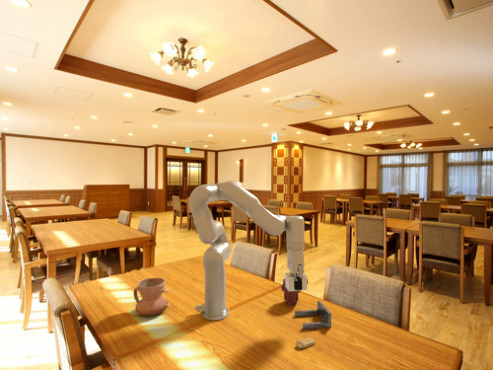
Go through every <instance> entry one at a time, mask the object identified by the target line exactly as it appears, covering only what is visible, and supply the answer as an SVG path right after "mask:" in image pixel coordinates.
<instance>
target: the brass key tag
mask: <svg viewBox="0 0 493 370" xmlns="http://www.w3.org/2000/svg"><path fill="white" fill-rule="evenodd" d="M314 345H316V341H315V340H314V339H312V338H311V337H310V336H308V337H306V338H303V339H300V340H297V341H296V342H295V346H296V349H298V350H304V349H307V348H309V347H312V346H314Z"/></svg>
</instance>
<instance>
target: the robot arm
mask: <svg viewBox="0 0 493 370" xmlns="http://www.w3.org/2000/svg"><path fill="white" fill-rule="evenodd" d="M225 200H227V201H229V202H230V203H231V204H233V205H234V206H235V207H237V208H238V209H239V210H241V211H242V212H243V213H244V214H246V215H247V217H248V218H250V220H252V222H253V223H254V224H256V225H257V226H258V227H259V228H261V229H262V230H263V231H265V232H266V233H268V234H269V235H271V236H280V235H282V234H283V233H284V232H285V233H286V249H287V250H286V251H287V252H286V253H287V254H286V268H287V269H288V271H289V273H292V274H295V281H294V283H295V290H301V291H303V290H302V278H303V273H305V258H304V257H305V256H304V250H305V246H306V245H305V243H306V242H305V218H304V217H303V216H301V215H283V214H275V215H274V214H273V213H272V212H270V211H269V210H267V209H266V208H265V207H264V206H263V204H262V203H261V202H260V200H259V198H258V197H257V196H255V195H254V194H252V193H251V192H250V191H248V190H247V189H246V188H244V186H243V184H242V182H240V181H238V180H227V181H224V182H218V183H210V184H208V183H207V184H206V183H205V184H201V185H198V186H197V187H195V188H194V189H193V190H192V192H191V193H190V194H189V198H188V206H189V210H190V212H191V215H192V218H193V222H194V225H195V229H196V231H197V236H198V238H199V240H200V242H201V243H203V244H205V245H210V246H209V247H208V248H206V250H205V252H204V253H203V257H202V262H203V268H204V271H203V272H204V303H203V304H200V305H199V304H197V305H196V304H195V305H194V310H195V311H197V312H198V313H199V312H200V313H201V316H202V318H204V319H205V320H207V321H208V320H209V321H220V320H224V319H225V318H227V317H228V316H229V314H230V309H229V307H227V306H226V305H227V304H226V303H227V302H226V300H227V299H226V298H227V296H226V291H227V290H226V285H227V284H226V281H227V280H226V276H227V275H226V269H225V262H226V261H227V260H228V259H229V258H230V255H231V251H232V250H231V243H230V242H229V237H228V235H227V232H226V229H225V227H224V225H223V223H221V222H220V221H219V220H216V219H215V220H214V218H213V214H212V211H211V209H210V208H209V206H208V205H209V203H212V202H217V201H225ZM297 272H299V273H297ZM297 275H299V276H298V277H297Z"/></svg>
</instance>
